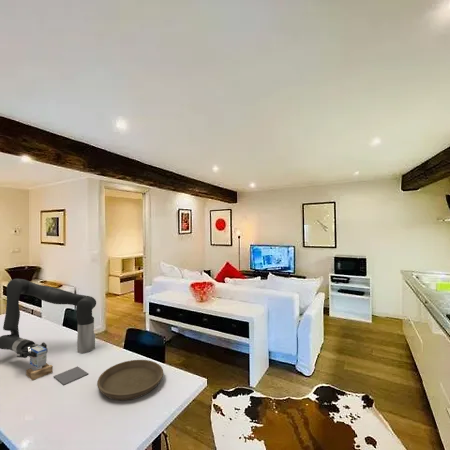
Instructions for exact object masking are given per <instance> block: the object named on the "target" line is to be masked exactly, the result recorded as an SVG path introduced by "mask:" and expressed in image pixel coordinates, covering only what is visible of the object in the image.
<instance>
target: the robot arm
mask: <svg viewBox="0 0 450 450" xmlns="http://www.w3.org/2000/svg"><path fill="white" fill-rule="evenodd" d="M21 295H27V296H32V297H35V298H37V299H39V300H41V301H42V302H46V303H50V304H54V305H70V306H76V309H75V310H76V312H75V313H76V321H77V337H76V338H77V339H76V340H77V342H76V343H77V345H76V346H77V348H76V350H77V351H76V352H77V353H79V354H85V353H89V352H92V351H93V350H94V349H96V333H95V317H94V316H93V309H94V308H95V307H96V306H97V300H96V298H95V297H93V296H90V295H83V294H79V293H74V292H72V291H67V290H64V289H61V288H57V287H53V286H47V285H42V284H37V283H35V282H32V281H30V280H27V279H25V278H24V279H23V278H13V279H11V280H9V281H8V283H7V284H6V307H5V308H6V309H5V314H4V315H5V316H4V320H3V326H2V329H3V331H7V332H8V331H9V332H10V334H4V335H1V336H0V350H10V351H12V352H15V353H16V357H17V358H24V359H26V358H28V357H29V358H30V357H37V353H36V352H32V351H31V348H33V347H35V346H41V347H44V348H46V349H47V353H48V348H47V347H48V345H47V343H45V342H44V341H43V342H41V344H37V343H36V342H34V341H33V340H30V339H27V338H22V337H20V332H19V331H20V330H19V322H20V318H21V310H20V304H19V303H20V296H21Z"/></svg>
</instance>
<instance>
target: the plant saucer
mask: <svg viewBox="0 0 450 450" xmlns="http://www.w3.org/2000/svg"><path fill="white" fill-rule="evenodd" d="M163 376H164V369H163V367H162V366H161V365H160V364H159V363H157V362H155V361H152V360H147V359H133V360H127V361H123V362H120V363H117V364H115V365H112V366H110V367H108V368H107V369H106V370H104V371H103V372H102V373H101V374H100V375H99V377H98V379H97V383H96V386H97V389H98V390H99V392H100V393H102V394H103V395H104V396H106V397H107V398H108V399H111V400H116V401H129V400H133V399H137V398H140V397H143V396H145V395H147V394H149V393H150V392H152V391H153V390H154V389H155V387H156V386H158V384H159V383H160V382H161V381H162V378H163Z"/></svg>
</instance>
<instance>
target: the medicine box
mask: <svg viewBox="0 0 450 450" xmlns="http://www.w3.org/2000/svg"><path fill="white" fill-rule="evenodd" d="M47 349H48V348H47ZM47 349H46V348H44V347H41V346H35V347H33V348H31V351H32V352H36V353H37V357H29V365H31V366H32V367H35V368H37V369H40V368H42V366H44V365H46V363H47V355H48V352H47Z"/></svg>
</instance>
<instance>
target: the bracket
mask: <svg viewBox="0 0 450 450" xmlns="http://www.w3.org/2000/svg"><path fill="white" fill-rule="evenodd" d="M53 366H54V365H52V364H48V363H47V362H46V365H44V366H41V367H40V368H37V369H36V370H33V369H32V368H28V369H26V370H25V375H26V376H27V378H29V379H30V380H31V381H34V380H38V379H40V378H42V377H44V376H48V375H50V374H53V371H54V369H53Z"/></svg>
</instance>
